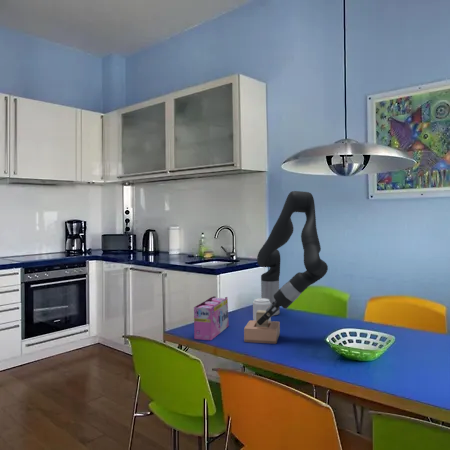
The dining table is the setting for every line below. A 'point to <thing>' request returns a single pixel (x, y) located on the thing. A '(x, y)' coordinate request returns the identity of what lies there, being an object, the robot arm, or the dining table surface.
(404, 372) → the dining table surface
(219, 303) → the gum box
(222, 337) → the dining table surface
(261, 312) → the post
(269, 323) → the well
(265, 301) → the beverage can
